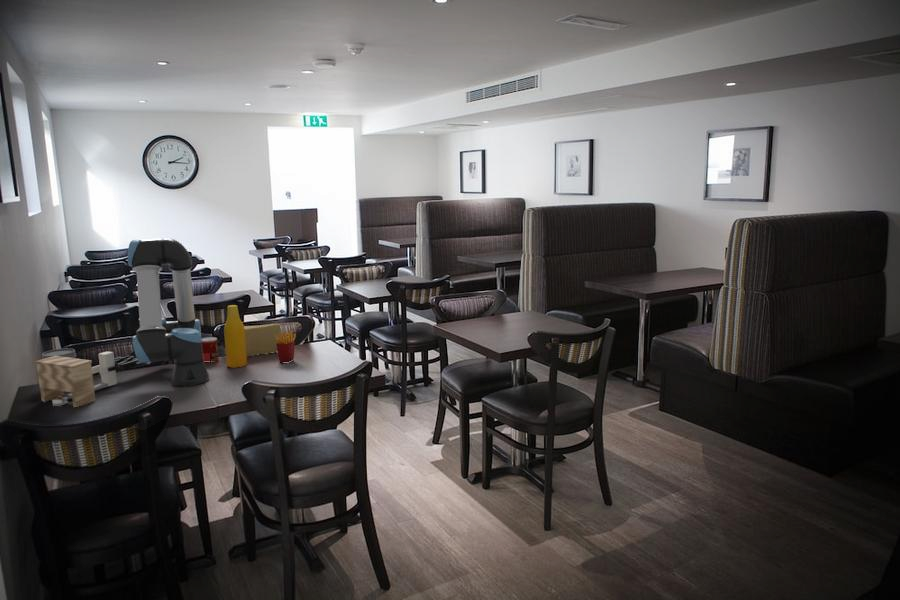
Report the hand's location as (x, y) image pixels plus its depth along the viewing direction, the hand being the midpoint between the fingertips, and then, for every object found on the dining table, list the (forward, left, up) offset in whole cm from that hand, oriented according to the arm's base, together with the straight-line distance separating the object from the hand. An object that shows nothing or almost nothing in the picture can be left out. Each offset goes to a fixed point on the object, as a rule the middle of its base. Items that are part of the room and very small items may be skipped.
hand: (96, 371), depth 255 cm
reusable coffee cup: (+20, +1, -8) cm, 22 cm away
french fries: (-49, -63, -8) cm, 80 cm away
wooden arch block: (0, +3, -8) cm, 8 cm away
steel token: (-1, +18, -8) cm, 20 cm away
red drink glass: (-13, -51, -8) cm, 53 cm away
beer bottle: (-31, -49, -8) cm, 58 cm away
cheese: (-29, -69, -9) cm, 75 cm away
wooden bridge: (-1, +14, -8) cm, 16 cm away
